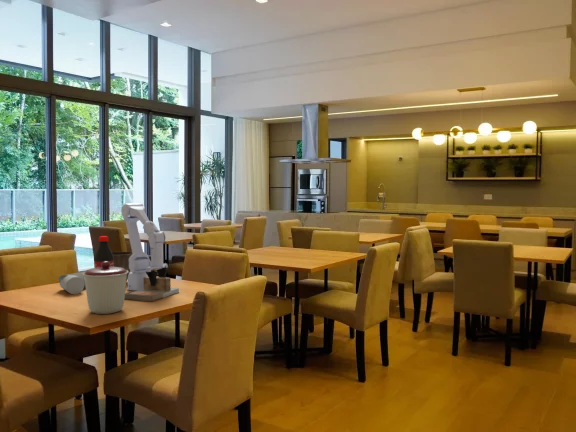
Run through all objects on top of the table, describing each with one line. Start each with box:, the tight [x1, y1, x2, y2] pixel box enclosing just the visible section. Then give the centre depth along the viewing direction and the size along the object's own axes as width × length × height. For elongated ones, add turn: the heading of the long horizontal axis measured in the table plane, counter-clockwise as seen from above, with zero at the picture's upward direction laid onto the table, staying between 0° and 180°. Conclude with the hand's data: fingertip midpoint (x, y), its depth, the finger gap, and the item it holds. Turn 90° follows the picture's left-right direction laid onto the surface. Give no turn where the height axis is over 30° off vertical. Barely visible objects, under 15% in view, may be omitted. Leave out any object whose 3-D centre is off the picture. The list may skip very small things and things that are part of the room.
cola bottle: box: [93, 235, 114, 268], centre depth 234 cm, size 8×8×30 cm
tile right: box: [141, 292, 159, 296], centre depth 243 cm, size 6×6×2 cm
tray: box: [124, 290, 164, 303], centre depth 244 cm, size 16×8×2 cm, turn 69°
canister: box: [82, 261, 129, 315], centre depth 218 cm, size 18×18×21 cm
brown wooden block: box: [144, 276, 172, 291], centre depth 254 cm, size 13×4×6 cm, turn 69°
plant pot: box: [111, 251, 133, 283], centre depth 284 cm, size 15×15×16 cm
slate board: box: [139, 287, 180, 298], centre depth 254 cm, size 15×14×2 cm
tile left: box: [129, 291, 147, 295], centre depth 246 cm, size 6×6×2 cm
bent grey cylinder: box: [57, 270, 87, 295], centre depth 264 cm, size 18×11×20 cm
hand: (157, 284), depth 254 cm, fingers open, 6 cm apart
